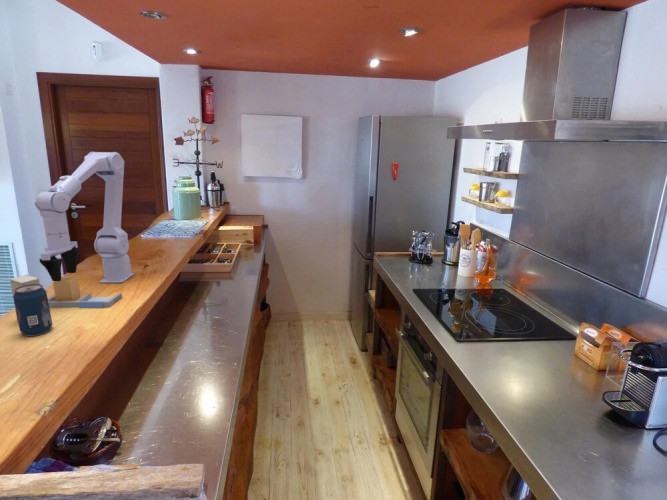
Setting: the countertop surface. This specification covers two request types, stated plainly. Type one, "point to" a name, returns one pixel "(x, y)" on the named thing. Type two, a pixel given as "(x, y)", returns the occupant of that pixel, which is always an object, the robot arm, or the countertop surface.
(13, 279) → the skincare box
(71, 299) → the tan cardboard-colored block
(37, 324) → the soda can
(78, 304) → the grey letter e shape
